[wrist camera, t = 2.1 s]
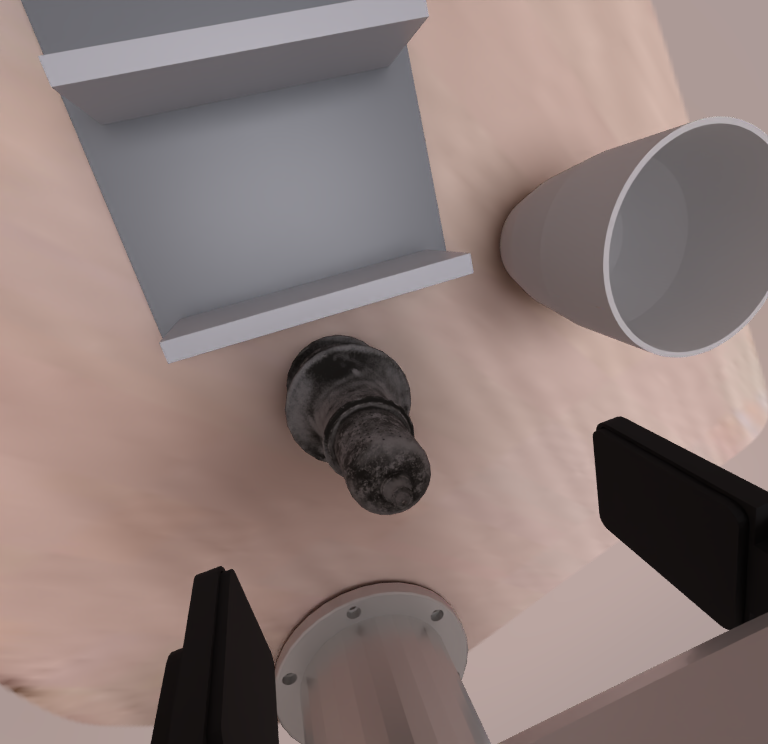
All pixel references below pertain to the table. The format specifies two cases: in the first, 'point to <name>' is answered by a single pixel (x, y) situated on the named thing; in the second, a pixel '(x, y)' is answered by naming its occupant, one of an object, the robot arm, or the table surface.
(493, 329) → the table surface
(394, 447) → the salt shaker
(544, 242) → the cup
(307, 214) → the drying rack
